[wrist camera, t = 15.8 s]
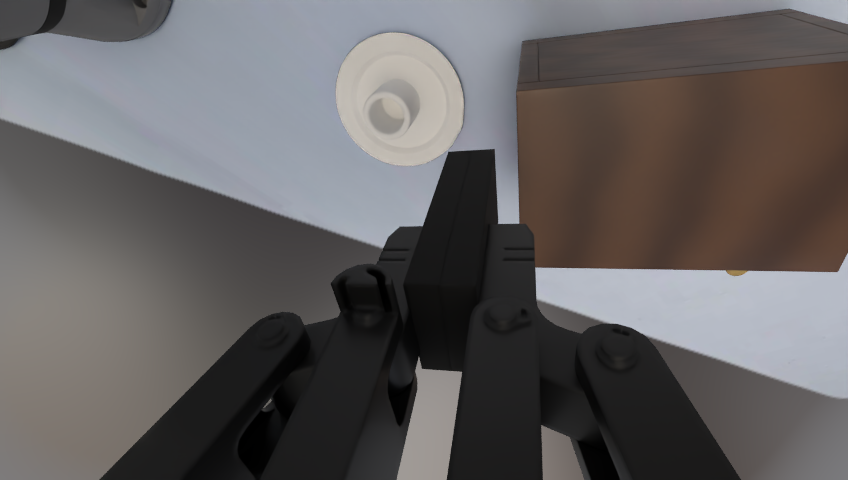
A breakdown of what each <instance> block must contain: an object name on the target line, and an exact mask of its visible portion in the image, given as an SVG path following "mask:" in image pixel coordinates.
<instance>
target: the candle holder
mask: <svg viewBox="0 0 848 480" xmlns="http://www.w3.org/2000/svg"><path fill="white" fill-rule="evenodd" d="M336 104H337V109H338V113H339V116H340V119H341V121H342V123H343V125H344V127H345V129H346V131H347V132H348V134H349V135H350V137H351V138H352V139H353V141H354V142H355V143H356V144H357V145H358V146H359V147H360V148H361V149H362V150H364V151H365V152H366V153H368V154H369V155H371V156H372V157H374V158H376V159H378V160H380V161H382V162H385V163H388V164H392V165H397V166H416V165H421V164H424V163H427V162H430V161H432V160H434V159H435V158H437V157H439V156H440V155H442V154H443V153H444V152H446V151H447V150H448V149H449V148H450V147H451V146H452V144H453V143H454V141H455V139H456V137H457V136H458V134H459V132H460V130H461V128H462V124H463V116H464V97H463V91H462V87H461V84H460V81H459V78H458V76H457V74H456V72H455V70H454V68H453V67H452V65H451V64H450V62H449V61H448V60H447V59H446V57H445V56H444V55H443V54H442V53H441V52H440V51H439V50H438V49H436V48H435V47H434V46H432V45H431V44H429V43H428V42H426V41H424V40H422V39H420V38H418V37H415V36H413V35H409V34H404V33H394V32H393V33H382V34H378V35H375V36H372V37H370V38H367V39H365V40H364V41H362V42H361V43H359V44H358V45H357V46H355V47H354V48H353V49H352V50H351V52H350V53H349V54H348V55H347V57H346V58H345V60H344V61H343V63H342V65H341V68H340V70H339V73H338V77H337V81H336Z"/></svg>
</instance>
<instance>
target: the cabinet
mask: <svg viewBox="0 0 848 480" xmlns="http://www.w3.org/2000/svg"><path fill="white" fill-rule="evenodd" d="M516 100H517V141H518V181H519V222H520V224H526V225H527V226H528V227H529V229H530V230H531V231H532V233H533V234H534V246H535V267H542V268H607V269H673V270H739V271H805V272H838V271H839V269H840V267H841V265H842V263H843V261H844V259H845V257H846V255H847V253H848V24H844V23H841V22H837V21H833V20H829V19H826V18H822V17H818V16H814V15H811V14H807V13H803V12H799V11H796V10H792V9H784V10H776V11H768V12H759V13H751V14H743V15H735V16H726V17H718V18H710V19H702V20H693V21H685V22H677V23H669V24H660V25H652V26H644V27H635V28H627V29H619V30H611V31H602V32H594V33H586V34H578V35H569V36H561V37H553V38H545V39H536V40H528V41H522V48H521V57H520V65H519V74H518V82H517V90H516Z"/></svg>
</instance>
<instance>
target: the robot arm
mask: <svg viewBox="0 0 848 480" xmlns="http://www.w3.org/2000/svg"><path fill="white" fill-rule="evenodd" d="M170 4H171V0H0V50H1V49H5V48H8V47H10V46H12V45H14V44H15V43H16V42H17V40H18V39H19V38H20V37H25V36H28V35H34V34H39V33H46V32H47V33H53V34H60V35H66V36H72V37H78V38H85V39H91V40H97V41H104V42H122V41H129V40H133V39H137V38H141V37H144V36H147V35H149V34H150V33H152V32H154V31H155V30H156V29H157V28H158V27H159V26H160V25H161V24H162V22H163V21H164V19H165V17H166V15H167V13H168V11H169V7H170ZM331 286H332V289H333V291H334V294H335V297H336V300H337V302H338V305H339V308H340V311H341V312H340V315H339V316H338V317H337V318H334V319H331V320H327V321H322V322H318V323H313V324H308V325H304V324H303V322H302V320H301V318H300V316H298V315H296V314H294V313H290V312H280V313H275V314H271V315H269V316H267V317H265V318H263V319H260V320H259V321H258V322H256V323H255V324H254V325H253V326H252V327H250V328H249V329H248V330H247V331H246V332H245V333H244V334H243V335H242V336H241V337H240V338H239V339H238V340H237V341H236V343H235V344H233V345H232V346H231V347H230V349H228V351H226V352H225V353H224V355H222V356H221V357H220V359H219V360H218V361H217V362H216V363H215V364H214V365H213V366H212V367H211V368H210V369H209V370H208V371H207V372H206V373H205V374H204V375H203V376H202V377H201V378H200V379H199V380H198V381H197V382H196V383H195V384H194V385H193V386H192V387H191V388H190V389H189V390H188V391H187V392H186V393H185V394H184V395H183V396H182V397H181V398H180V399H179V400H178V401H177V402H176V403H175V404H174V405H173V406H172V407H171V408H170V409H169V410H168V411H167V412H166V413H165V414H164V415H163V416H162V417H161V418H160V419H159V420H158V421H157V422H156V423H155V424H154V425H153V426H152V427H151V428H150V429H149V430H148V431H147V432H146V433H145V434H144V435H143V436H142V437H141V438H140V439H139V440H138V441H137V442H136V443H135V444H134V445H133V446H132V447H131V448H130V449H129V450H128V451H127V452H126V454H124V455H123V456H122V457H121V458H120V460H118V462H116V463H115V465H114V466H113V467H112V468H111V469H110V470H109V471H108V472H107V473H106V474H105V475H104V476H103V477H102V478H101V479H100V480H396V479H397V474H398V470H399V466H400V462H401V457H402V453H403V449H404V444H405V440H406V436H407V431H408V427H409V423H410V418H411V414H412V410H413V406H414V401H415V397H416V393H417V378H416V373H415V369H416V365H417V361H418V357H420V362H421V366H422V369H433V370H447V371H461V372H462V378H461V385H460V393H459V399H458V406H457V413H456V420H455V427H454V434H453V441H452V447H451V454H450V461H449V468H448V475H447V480H543V472H542V441H541V425H543V426H545V427H547V428H550V429H552V430H554V431H557V432H559V433H562V434H564V435H566V436H569V437H570V439H571V442H572V445H573V448H574V451H575V454H576V456H577V459H578V462H579V465H580V468H581V470H582V474H583V477H584V480H741V479H740V478H739V476H738V474H737V473H736V471H735V470H734V468H733V467H732V465H731V463H730V462H729V460H728V459H727V457H726V456H725V454H724V453H723V451H722V450H721V448H720V446H719V445H718V443H717V442H716V440H715V439H714V437H713V436H712V434H711V433H710V431H709V429H708V428H707V426H706V425H705V423H704V422H703V420H702V419H701V417H700V415H699V414H698V412H697V411H696V409H695V408H694V406H693V405H692V403H691V401H690V400H689V398H688V397H687V395H686V394H685V392H684V391H683V389H682V387H681V386H680V384H679V383H678V381H677V380H676V378H675V377H674V375H673V374H672V372H671V371H670V369H669V367H668V366H667V364H666V363H665V361H664V360H663V358H662V357H661V355H660V353H659V352H658V350H657V349H656V347H655V346H654V345H653V344H652V343H651V342H650V341H649V339H648V338H647V337H646V336H644V335H643V334H641V333H639V332H638V331H636V330H634V329H632V328H629V327H626V326H622V325H619V324H600V325H596V326H593V327H589V328H588V329H587V330H586V331H584V332H583V333H582V334H580V333H577V332H573V331H569V330H567V329H564V328H562V327H559V326H556V325H555V324H553V323H552V322H550V321H549V320H547V319H546V318H545V317H544V316H543V315H542V314H541V312H540V310H539V309H538V307H537V301H536V277H535V246H534V234H533V233H532V231H531V230H530V229H529V227H528V226H527V225H526V224H498V209H497V189H496V169H495V149H490V150H472V151H454V152H448V155H447V158H446V161H445V164H444V167H443V170H442V173H441V175H440V178H439V181H438V184H437V187H436V190H435V193H434V196H433V199H432V201H431V204H430V207H429V210H428V213H427V216H426V219H425V222H424V225H423V226H414V227H399V228H398V229H397V230H396V231H395V232H394V233H392V234H391V235H390V236H389V237H388V239H387V241H386V244H385V246H384V248H383V251H382V253H381V255H380V257H379V261H378V262H377V264H376V265H374V264H363V265H357V266H354V267H352V268H349V269H346V270H345V271H343V272H342V273H340V274H339V275H338V276H336V278H335V279H334V280H333V281H332V282H331ZM270 398H271V400H272V401H271V403H269V404H268V405H267V406H266V407H265V408H263V407H264V406H265V405H266V403H267V402H268V401H269V400H270Z"/></svg>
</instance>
